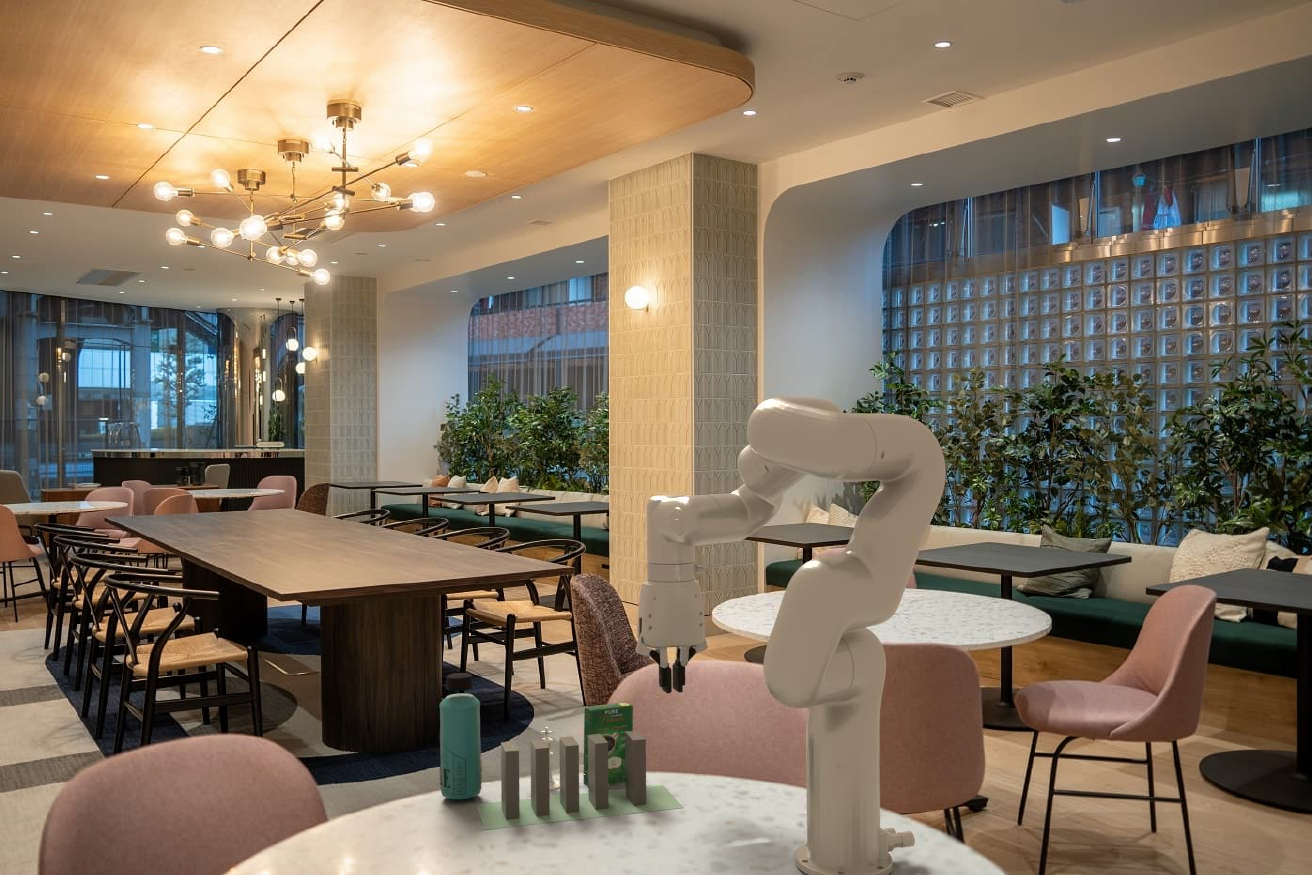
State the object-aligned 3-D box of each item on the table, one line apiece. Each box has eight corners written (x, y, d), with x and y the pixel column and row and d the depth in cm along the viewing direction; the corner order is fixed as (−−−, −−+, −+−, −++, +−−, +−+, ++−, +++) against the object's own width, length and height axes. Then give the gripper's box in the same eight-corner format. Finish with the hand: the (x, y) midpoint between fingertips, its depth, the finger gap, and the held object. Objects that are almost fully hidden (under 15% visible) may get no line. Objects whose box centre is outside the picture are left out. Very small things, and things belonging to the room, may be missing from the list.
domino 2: (543, 803, 159) (543, 738, 159) (549, 814, 154) (549, 747, 154) (530, 805, 158) (530, 739, 159) (536, 816, 154) (535, 748, 154)
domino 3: (572, 800, 160) (572, 736, 160) (579, 811, 155) (578, 745, 156) (559, 802, 160) (559, 737, 160) (566, 813, 155) (565, 746, 155)
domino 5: (638, 794, 163) (637, 730, 163) (646, 804, 158) (645, 739, 158) (625, 795, 163) (625, 731, 163) (633, 805, 158) (633, 740, 158)
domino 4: (601, 797, 162) (600, 733, 162) (608, 808, 157) (607, 742, 157) (588, 799, 161) (588, 734, 161) (595, 810, 156) (595, 743, 156)
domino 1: (514, 807, 158) (514, 741, 158) (519, 818, 153) (519, 750, 153) (501, 808, 157) (501, 742, 157) (506, 819, 152) (505, 751, 153)
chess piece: (557, 795, 165) (556, 732, 165) (527, 793, 166) (527, 730, 166) (566, 785, 170) (565, 724, 170) (537, 783, 171) (536, 722, 171)
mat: (663, 788, 167) (663, 785, 167) (683, 811, 157) (683, 807, 157) (476, 808, 159) (476, 804, 159) (484, 833, 149) (484, 829, 149)
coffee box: (626, 778, 173) (625, 699, 173) (634, 783, 170) (633, 703, 170) (582, 786, 169) (582, 706, 169) (590, 791, 166) (589, 709, 166)
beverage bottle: (490, 799, 163) (489, 672, 163) (461, 812, 157) (460, 680, 158) (459, 792, 167) (459, 668, 167) (430, 804, 161) (429, 675, 161)
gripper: (709, 568, 168) (711, 682, 168) (617, 572, 164) (618, 689, 164) (725, 574, 161) (726, 692, 161) (629, 578, 157) (630, 700, 157)
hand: (672, 690), depth 162 cm, fingers closed
